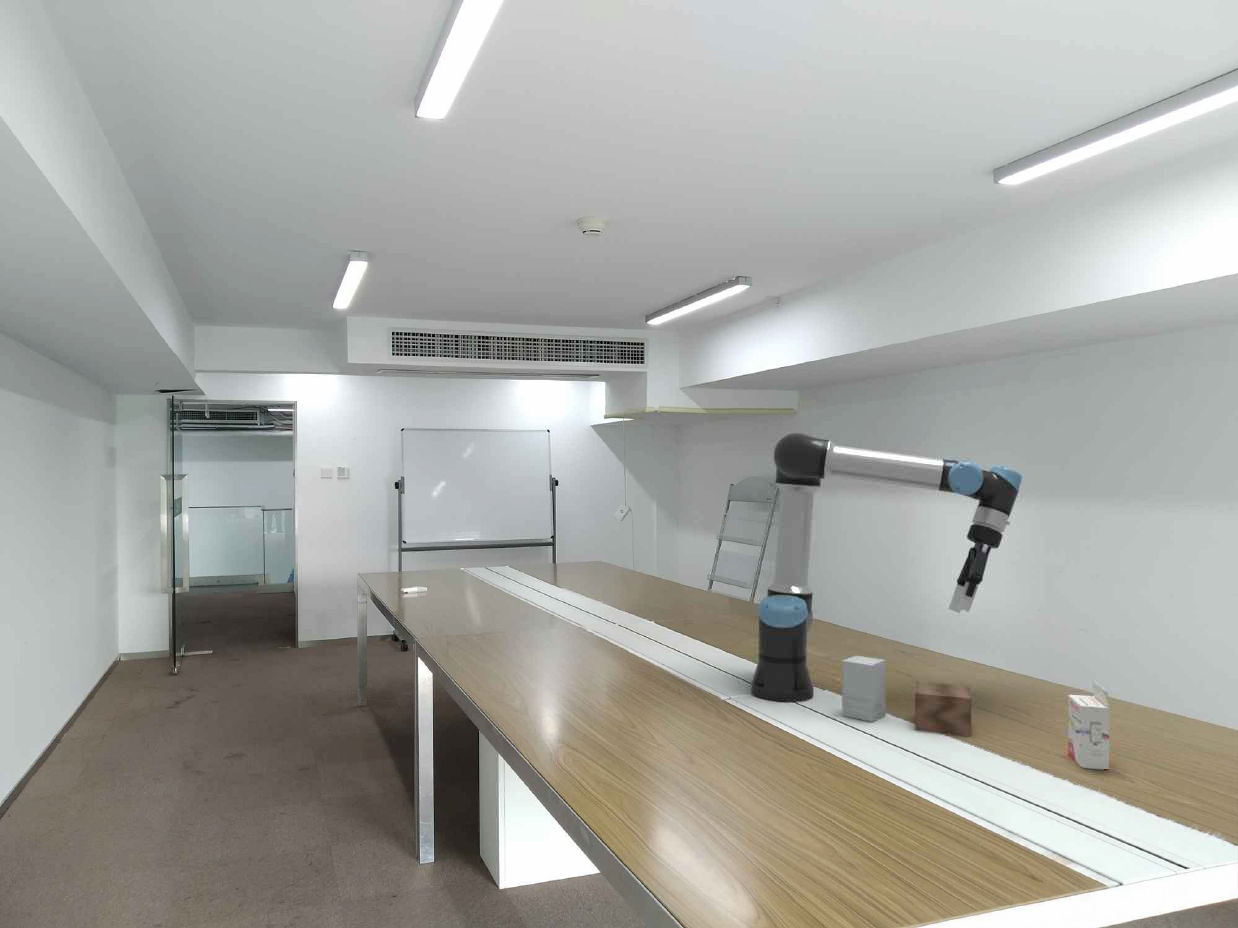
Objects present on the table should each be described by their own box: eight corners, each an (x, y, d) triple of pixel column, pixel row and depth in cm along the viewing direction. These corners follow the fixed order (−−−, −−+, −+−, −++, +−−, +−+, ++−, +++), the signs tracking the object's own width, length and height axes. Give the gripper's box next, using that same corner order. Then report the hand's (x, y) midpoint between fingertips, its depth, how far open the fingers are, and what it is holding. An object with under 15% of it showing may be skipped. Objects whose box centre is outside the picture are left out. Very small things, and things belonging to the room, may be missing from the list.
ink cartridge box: (1066, 753, 165) (1066, 678, 166) (1094, 755, 164) (1094, 680, 165) (1081, 768, 157) (1081, 689, 157) (1110, 770, 156) (1110, 691, 156)
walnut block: (915, 730, 180) (915, 693, 180) (915, 716, 190) (916, 681, 190) (970, 736, 176) (971, 698, 176) (968, 722, 186) (968, 686, 186)
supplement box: (886, 715, 190) (887, 659, 190) (871, 722, 184) (871, 664, 185) (856, 709, 195) (856, 654, 195) (840, 715, 189) (841, 659, 190)
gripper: (1014, 528, 192) (984, 615, 190) (992, 539, 216) (965, 616, 214) (981, 516, 194) (950, 603, 192) (963, 528, 218) (935, 605, 216)
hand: (958, 610), depth 203 cm, fingers open, 13 cm apart
